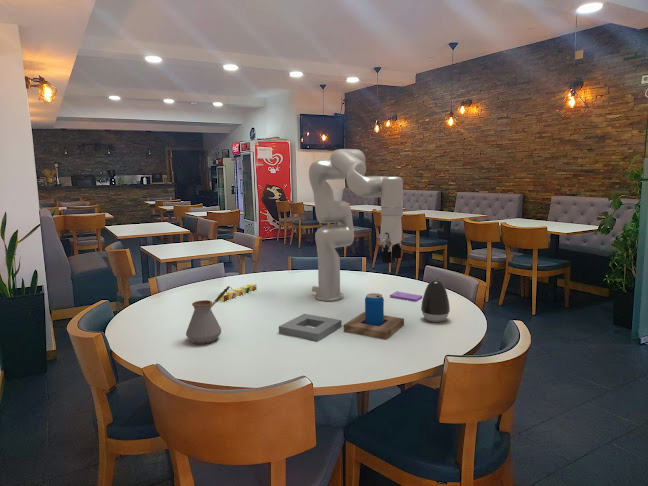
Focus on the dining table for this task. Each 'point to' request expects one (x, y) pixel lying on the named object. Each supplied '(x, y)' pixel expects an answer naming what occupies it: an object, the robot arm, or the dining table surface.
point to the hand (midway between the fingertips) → (392, 260)
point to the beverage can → (374, 309)
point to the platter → (238, 292)
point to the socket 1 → (320, 331)
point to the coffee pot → (204, 322)
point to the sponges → (406, 296)
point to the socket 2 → (381, 331)
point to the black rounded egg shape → (435, 302)
